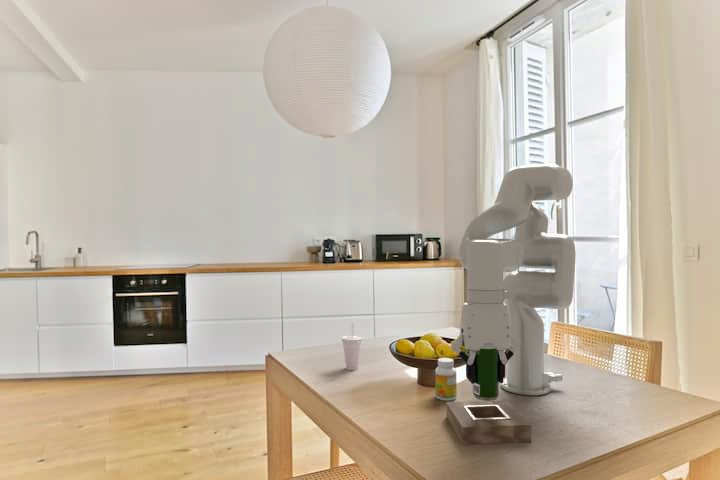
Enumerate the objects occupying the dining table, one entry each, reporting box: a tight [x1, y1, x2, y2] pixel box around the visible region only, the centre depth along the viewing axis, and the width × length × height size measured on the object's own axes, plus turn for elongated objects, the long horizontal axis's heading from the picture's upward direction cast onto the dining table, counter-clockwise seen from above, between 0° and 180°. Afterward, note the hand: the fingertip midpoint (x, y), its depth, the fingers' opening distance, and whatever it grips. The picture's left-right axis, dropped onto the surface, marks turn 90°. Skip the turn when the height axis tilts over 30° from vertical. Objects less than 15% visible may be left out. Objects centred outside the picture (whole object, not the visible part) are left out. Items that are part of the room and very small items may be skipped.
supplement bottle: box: [434, 357, 458, 402], centre depth 122 cm, size 5×5×10 cm
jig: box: [445, 399, 532, 446], centre depth 103 cm, size 14×14×4 cm
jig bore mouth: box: [463, 405, 510, 421], centre depth 103 cm, size 8×8×1 cm
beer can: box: [472, 344, 500, 401], centre depth 102 cm, size 5×5×12 cm
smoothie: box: [341, 323, 363, 371], centre depth 149 cm, size 6×6×14 cm
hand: (485, 380), depth 102 cm, fingers closed on beer can, 5 cm apart
